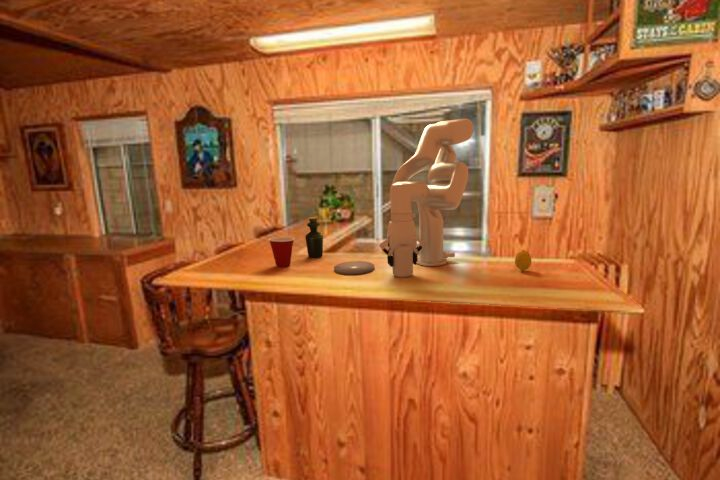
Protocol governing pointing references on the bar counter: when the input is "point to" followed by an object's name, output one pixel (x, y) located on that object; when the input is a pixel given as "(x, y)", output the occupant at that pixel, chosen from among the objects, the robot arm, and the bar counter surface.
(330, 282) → the bar counter surface
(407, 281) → the bar counter surface
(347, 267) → the dish
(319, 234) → the potion bottle
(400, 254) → the can
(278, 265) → the plastic cup
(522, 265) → the lemon
